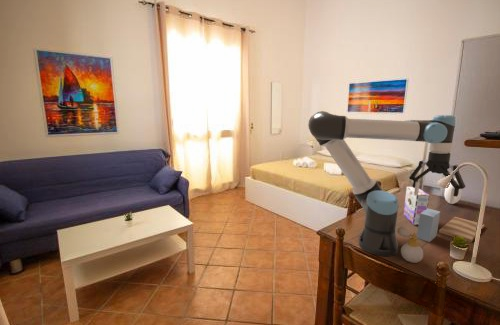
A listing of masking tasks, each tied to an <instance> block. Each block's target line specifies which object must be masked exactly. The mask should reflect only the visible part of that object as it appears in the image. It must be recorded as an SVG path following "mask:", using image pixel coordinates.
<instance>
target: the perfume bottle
mask: <svg viewBox="0 0 500 325" xmlns="http://www.w3.org/2000/svg"><path fill="white" fill-rule="evenodd" d="M397 234H399V235H400V236H401V237H404V238H408V242H406V243H404V244H402V246H401V248H400V254H401V256H402V258H403V259H404V260H405V261H407V262H409V263H414V264H416V263H419V262H421V261H422V260H423V259H424V251H423V249H422V247H421V246H420V245H419V244H418V243H419V240H418V238H417V234H416V233H415V232H414V233H413V234H412V232H411V231H410V230H409V229H408V228H407V227H404V226H400V227H398V228H397Z"/></svg>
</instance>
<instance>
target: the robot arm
mask: <svg viewBox="0 0 500 325" xmlns="http://www.w3.org/2000/svg"><path fill="white" fill-rule="evenodd" d="M307 125H308V126H307V127H308V130H309V132H310V134H311V135H312V137H314V138H315V140H316V142H317V143H318V144H319V145H320V146H321V147H325V149H326V150H327V151H328V153H329V154H330V156H331V157H332V159H333V160H334V162H335V164H337V166H338V168H339V169H340V170H341V172H342V173H343V174H344V176H345V177H346V179H347V180H348V182H349V184H350V185H351V187H352V194H353V195H354V197H355V198H356V200H357V201H358V203H359V204H360V206H361V207H362V209H363V211H364V214H365V217H364V226H363V229H362V231H361V233H360V235H359V236H358V246H359V248H360V249H362V250H363V251H364V252H367V253H369V254H372V255H374V256H379V257H391V256H395V255H397V253H398V250H399V244H398V240H397V236H396V227H397V226H396V225H397V220H398V219H397V218H398V213H399V212H398V211H399V199H398V197H397V196H396V195H395V194H393V193H391V192H388V191H385V190H383V188H382V187H381V186H380V184H379V183H378V181H377V180H376V178H375V179H374V178H371V177H370V176H369V174H368V173H367V171H366V170H365V168H364V167H363V166H362V164H361V162H360V161H359V160H358V158H357V157H356V154H354V152H353V150H352V149H351V148H350V146H349V145H348V144H347V142H346V141H345V139H347V138H350V139H351V138H352V139H365V140H366V139H370V140H371V139H372V140H388V141H410V142H423V143H424V142H425V143H428V144H429V149H428V150H429V152H428V158H427V161H425V160H424V159H423V160H422V159H421V160H419V162H418V165H417V166H416V168H415V169H414V170H413V172H412V173H411V175H410V176H409V177H408V178H409V180H412V187H413V188H415V192H414V195H415V196H416V195H418V192H419V188H420V183H421V182H420V179H421V178H423V177H424V176H425V175H427V174H428V173H429V172H431V173H432V174H433V173H435V174H439V175H441V174H442V176H444V177H445V178H446V176H448V175H451V174H450V171H449V169H450V170H451V171H454V170H455V169H456V168H457V167H458V168H459V165H458V164H450V161H451V153H450V152H452V146H453V141H454V134H455V133H454V132H455V127H456V117H455V115H451V114H450V115H449V114H436V115H434V116H433V118H432V119H430V120H428V119H427V120H425V119H424V120H422V119H421V120H419V119H415V120H414V119H410V120H409V119H408V120H392V119H390V120H389V119H387V120H386V119H366V118H365V119H364V118H362V119H361V118H348V116H346V115H339V114H333V113H330V112H327V111H324V110H323V111H317V112H316V113H314V114H313V115H311V116H310V118H309V120H308V124H307ZM425 165H426V167H427V168H426V169H425V170H424V171H422V172H421V173H420V174H418V173H419V171H420V170H421V169H422V168H423V167H424V166H425ZM417 174H418V175H417ZM453 175H454V177H453V176H452V179H451V181H450V183H451V184H452V186H453V187H454V188H453V189H452V192H451V198H450V203H449V204H450V205H453V203H454V199H455V196H456V197H457V196H458V193H459V189H461V190H464V189H465V188H466V184H465V182H464V180H463V177H462V175H461V173H460V171H459V169H458V171H457V172H456V173H455V174H454V173H453ZM455 177H456V179H457V182H458V184H459V185H458V184H457V182H456V181H455V180H454V179H455ZM454 204H455V203H454Z"/></svg>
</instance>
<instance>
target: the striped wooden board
mask: <svg viewBox="0 0 500 325" xmlns="http://www.w3.org/2000/svg"><path fill="white" fill-rule="evenodd" d="M477 223H478V222H476V221H473V220H469V219H466V218H461V217H458V216H454V217H452V218H451V219H450V220H449V221H448V222H447V223H446V224H444V225H443V226H442V227H441V228H440V229H438V233H439V234H442V235H446V236H449V237H452V238H455V236H461V237H464V238H465V239H466V241H465V242H469V243H472V242H473V241H474V239H475V238H476V237H475V234H476V228H477ZM482 224H483V225H482V230H483V229H484V228H485V224H484V223H482Z"/></svg>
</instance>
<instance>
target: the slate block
mask: <svg viewBox="0 0 500 325" xmlns="http://www.w3.org/2000/svg"><path fill="white" fill-rule="evenodd" d="M440 217H441V211H439V210H435V209H432V208H428V209H426V210H425V211H423V212H422V213H420V219H419V225H417V234H416V239H419V240H422V241H424V242H428V243H430V242H431V241H433V240H434V239H436V237H437V235H438V231H439V229H438V228H439V224H440V223H439V222H440Z"/></svg>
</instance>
